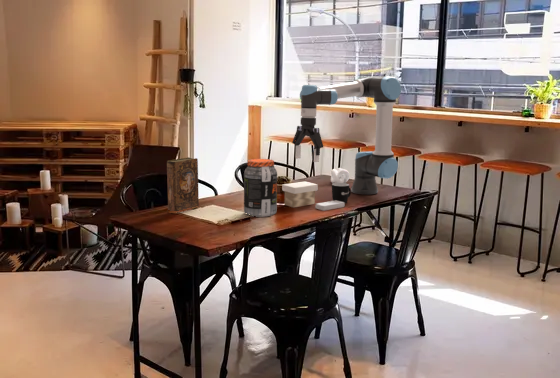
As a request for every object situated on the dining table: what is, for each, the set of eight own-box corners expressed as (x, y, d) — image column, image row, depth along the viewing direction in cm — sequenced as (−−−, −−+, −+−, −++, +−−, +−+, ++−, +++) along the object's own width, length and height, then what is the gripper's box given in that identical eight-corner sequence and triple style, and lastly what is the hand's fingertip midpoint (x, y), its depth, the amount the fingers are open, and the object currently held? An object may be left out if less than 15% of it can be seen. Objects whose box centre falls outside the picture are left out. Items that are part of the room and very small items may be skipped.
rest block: (336, 205, 292) (336, 200, 291) (344, 208, 287) (344, 202, 287) (315, 209, 283) (315, 203, 283) (323, 212, 279) (323, 206, 278)
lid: (304, 188, 298) (305, 181, 297) (317, 192, 291) (317, 184, 290) (282, 192, 289) (282, 184, 288) (294, 195, 282) (294, 187, 281)
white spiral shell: (342, 186, 342) (343, 171, 341) (325, 183, 349) (325, 169, 347) (351, 183, 352) (351, 168, 350) (333, 180, 358) (334, 166, 356)
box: (305, 202, 298) (306, 187, 297) (314, 205, 293) (314, 189, 291) (284, 206, 290) (284, 190, 288) (293, 208, 284) (293, 193, 283)
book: (174, 214, 271) (173, 162, 266) (166, 212, 274) (164, 161, 269) (198, 208, 284) (197, 158, 279) (190, 206, 287) (189, 157, 282)
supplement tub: (279, 217, 268) (280, 162, 263) (245, 218, 265) (245, 163, 260) (274, 209, 283) (274, 157, 278) (242, 210, 281) (242, 157, 275)
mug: (340, 206, 291) (340, 186, 289) (327, 203, 298) (328, 184, 296) (356, 203, 299) (357, 184, 297) (343, 200, 305) (344, 181, 303)
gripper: (286, 115, 287) (285, 157, 291) (320, 119, 268) (318, 164, 272) (297, 115, 292) (296, 156, 296) (331, 118, 273) (329, 162, 277)
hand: (306, 160), depth 284 cm, fingers open, 13 cm apart
